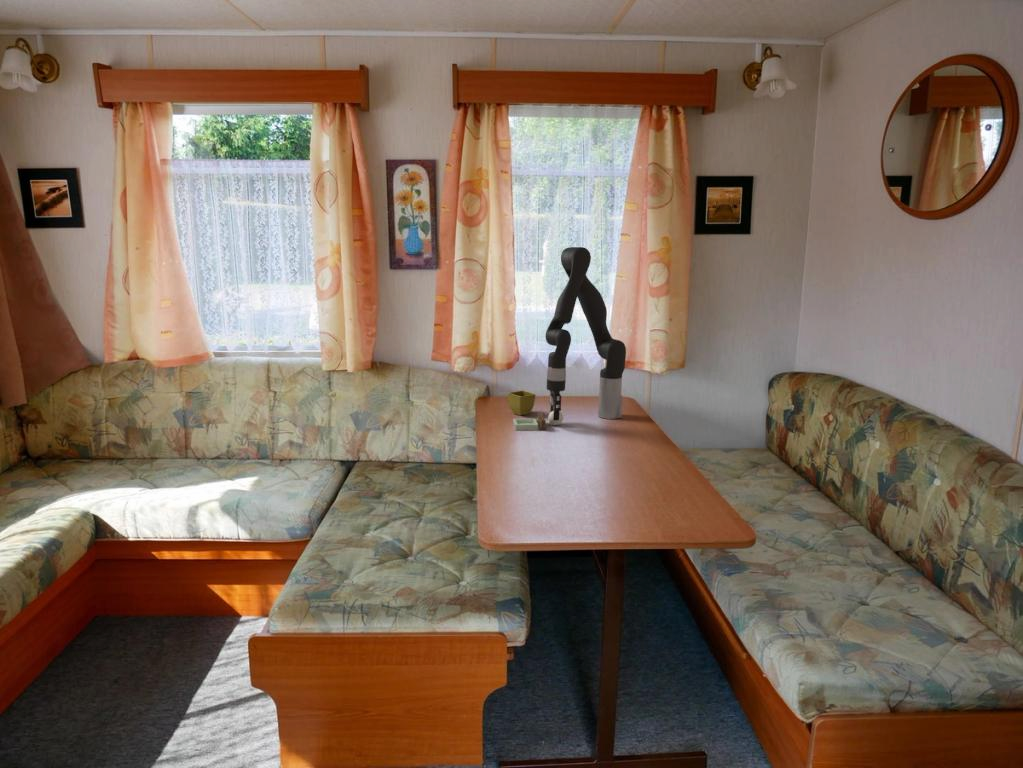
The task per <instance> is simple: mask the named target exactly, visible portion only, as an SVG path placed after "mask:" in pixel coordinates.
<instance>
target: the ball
mask: <svg viewBox="0 0 1023 768" xmlns="http://www.w3.org/2000/svg"><path fill="white" fill-rule="evenodd" d="M553 414H554V411H552V412H551V413H550V412H549V414H548V417H547V418H548V422H549V423H550V424H551V425H552V426H559V425H561V424H562V423H563V421H564V415H563V413H562V412H561V411H559V420H553Z"/></svg>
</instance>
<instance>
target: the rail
mask: <svg viewBox="0 0 1023 768" xmlns="http://www.w3.org/2000/svg"><path fill="white" fill-rule="evenodd" d="M536 421H537V423H538V430H539V431H540V432H541V431H545V432H546V431H548V428H547V426H546V422H547V421H546V419H545V417H544V414H543V413H542V412H537V419H536Z"/></svg>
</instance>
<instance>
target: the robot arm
mask: <svg viewBox="0 0 1023 768" xmlns="http://www.w3.org/2000/svg"><path fill="white" fill-rule="evenodd" d="M591 259H592V255H591V252H590V251H589V249H587V248H586V247H582V246H570V247H566V248H564V249H563V250H562V251H561V254H560V262H561V266H562V269H564V272H565V273H566V275H567V277H568V281H567V283H566V285H565V286H564V288H563V289H562V292H561V293H560V295H559V296H558V299H557V303H556V305H555V306H556V307H555V310H554V313H553V317H552V319H551V321H550V323H549V325H548V327H547V329H546V332H545V341H546V343H547V344H548V345H550V346H554V347H555V349H554V351H552V352H550V353H549V354H548V360H547V361H548V362H547V370H546V386H545V387H546V390H547V391H549V400H548V403H549V406H550V410H549V411H550V412H549V414H550V413H551V412H552V411H554V414H553V420H559V412H561V411H562V395H561V392H564V391H566V382H567V381H566V379H567V369H566V367H567V365H566V364H567V356H568V353H569V349H570V346H571V343H572V337H571V333H570V331H569V330H567V329H563V328H564V325H566V324H567V325H568V324H570V323H571V321H572V319H573V314H574V310H575V306H576V302H577V299H578V301H579V305H580V308H581V309H582V312H583V314H584V316H585V319H586V322H587V324H588V326H589V328H590V331H591V333H592V337H593V341H594V344H595V347H596V350H597V353H598V356H599V357H600V358H602V359H603V360H606V363H605V364H606V365H605V367H604V368H602V369H600V371H599V372H600V373H599V390H598V391H599V393H598V412H597V413H598V415H597V416H598V417H600V418H603V419H607V420H608V419H609V420H615V419H621V418H622V416H623V415H622V412H623V395H622V388H623V387H622V384H623V373H624V371H625V368H626V358H627V348H626V345H625V343H624V342H623V341H622V340H619V339H615V338H613V337H612V335H611V333H610V331H609V329H608V325H607V316H608V310H607V306H606V303H605V301H604V298H603V296H602V294H601V292H600V291H599V290H598V288H597V287H596V286H595V285H594V284H593V283H592V282H591V280H590V279H589V278H588V276H587V273H588V270H589V267H590V264H591Z"/></svg>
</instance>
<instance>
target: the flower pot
mask: <svg viewBox="0 0 1023 768" xmlns="http://www.w3.org/2000/svg"><path fill="white" fill-rule="evenodd" d="M507 397H508V398H507V399H508V405H509V409H510V410H511V412H512V413H513V414H515V415H517V416H518V415H519V416H524V415H529V414H530V413H531V412H532V411H533V409H534V405H535V402H536V401H535V400H536V393H534V392H533V393H532V392H529V391H526V390H517V391H512V392H507Z"/></svg>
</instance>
